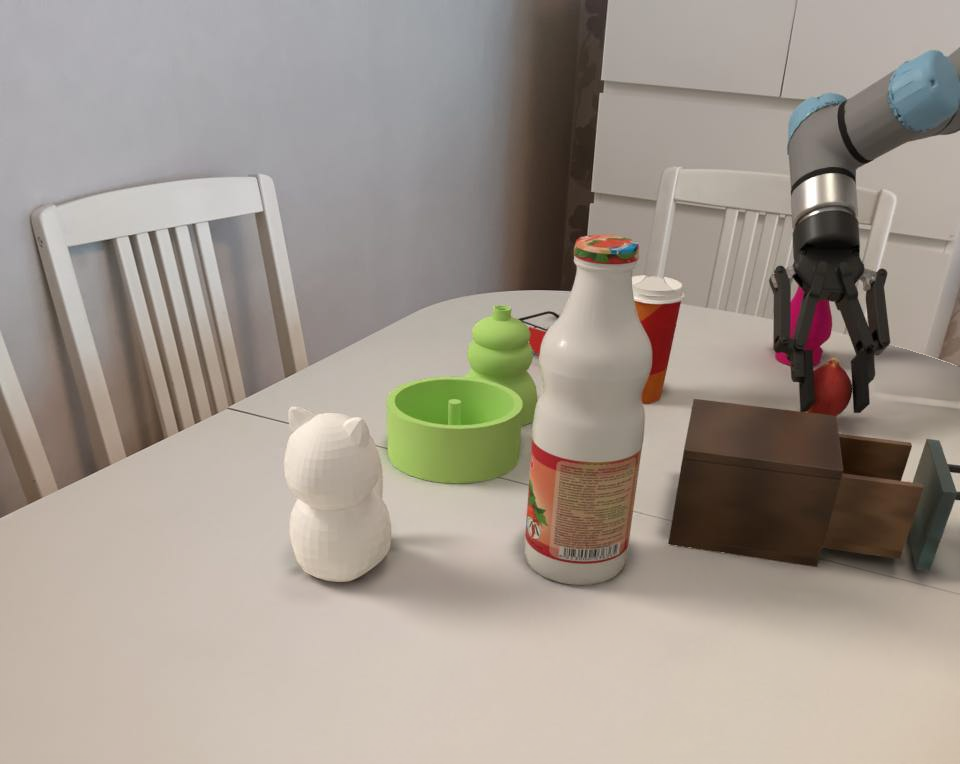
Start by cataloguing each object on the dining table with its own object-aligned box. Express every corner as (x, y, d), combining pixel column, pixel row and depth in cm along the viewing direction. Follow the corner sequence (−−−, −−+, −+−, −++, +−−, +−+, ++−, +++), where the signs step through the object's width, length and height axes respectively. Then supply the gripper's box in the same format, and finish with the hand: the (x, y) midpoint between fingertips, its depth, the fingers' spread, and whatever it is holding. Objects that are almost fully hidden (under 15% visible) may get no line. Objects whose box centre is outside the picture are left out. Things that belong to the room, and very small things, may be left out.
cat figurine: (269, 583, 84) (251, 421, 76) (333, 519, 94) (323, 369, 85) (363, 604, 82) (355, 440, 73) (418, 537, 92) (418, 385, 83)
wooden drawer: (970, 521, 96) (998, 447, 92) (991, 580, 87) (1022, 501, 82) (786, 495, 99) (804, 423, 95) (787, 550, 90) (807, 473, 86)
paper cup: (611, 381, 127) (624, 271, 119) (670, 388, 126) (687, 277, 118) (605, 403, 121) (618, 288, 112) (667, 410, 120) (685, 295, 111)
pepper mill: (763, 361, 135) (795, 207, 124) (781, 347, 140) (813, 199, 129) (813, 372, 132) (851, 216, 121) (830, 358, 137) (868, 207, 125)
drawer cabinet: (813, 505, 100) (836, 415, 94) (817, 567, 90) (843, 470, 84) (678, 486, 102) (693, 398, 97) (667, 544, 92) (683, 449, 87)
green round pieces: (489, 494, 100) (494, 375, 92) (364, 466, 104) (359, 350, 97) (566, 410, 119) (575, 306, 111) (458, 389, 123) (460, 288, 116)
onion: (799, 409, 121) (814, 346, 116) (846, 419, 119) (864, 354, 114) (790, 425, 116) (805, 360, 112) (839, 435, 114) (856, 369, 110)
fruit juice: (593, 599, 84) (633, 265, 68) (503, 564, 88) (521, 242, 72) (643, 556, 90) (691, 240, 74) (557, 525, 95) (584, 221, 78)
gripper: (887, 245, 120) (899, 422, 117) (738, 241, 120) (745, 418, 116) (916, 208, 113) (929, 396, 109) (757, 204, 112) (765, 392, 109)
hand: (834, 407), depth 113 cm, fingers closed on onion, 6 cm apart
